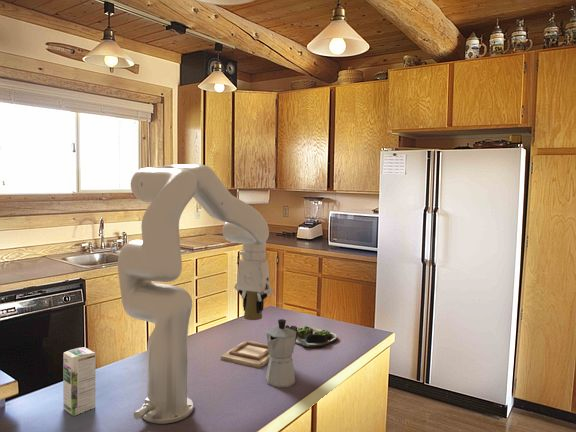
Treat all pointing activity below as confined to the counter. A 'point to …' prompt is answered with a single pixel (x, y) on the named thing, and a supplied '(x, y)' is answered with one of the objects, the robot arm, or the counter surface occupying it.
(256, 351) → the maple board
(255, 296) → the cork
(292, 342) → the coffee maker
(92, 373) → the syrup box
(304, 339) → the salad plate
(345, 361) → the counter surface
